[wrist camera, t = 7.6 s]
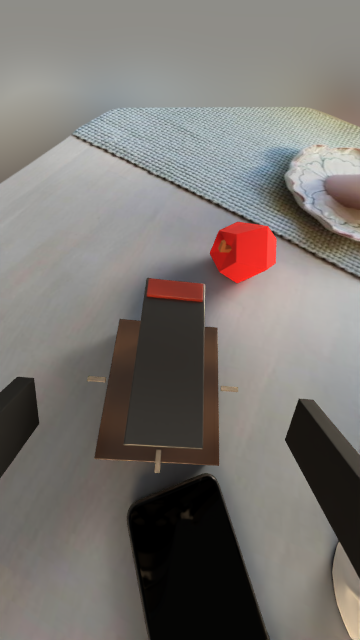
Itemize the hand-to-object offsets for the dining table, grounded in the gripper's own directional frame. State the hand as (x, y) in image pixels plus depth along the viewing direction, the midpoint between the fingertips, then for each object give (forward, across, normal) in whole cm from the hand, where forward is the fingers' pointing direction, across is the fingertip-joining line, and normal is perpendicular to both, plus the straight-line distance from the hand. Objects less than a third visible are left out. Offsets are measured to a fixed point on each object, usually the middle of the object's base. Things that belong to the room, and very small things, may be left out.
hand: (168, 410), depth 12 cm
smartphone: (-1, +4, -16) cm, 16 cm away
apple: (+20, +7, +5) cm, 22 cm away
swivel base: (+9, 0, -5) cm, 10 cm away
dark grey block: (+7, 0, -3) cm, 7 cm away
